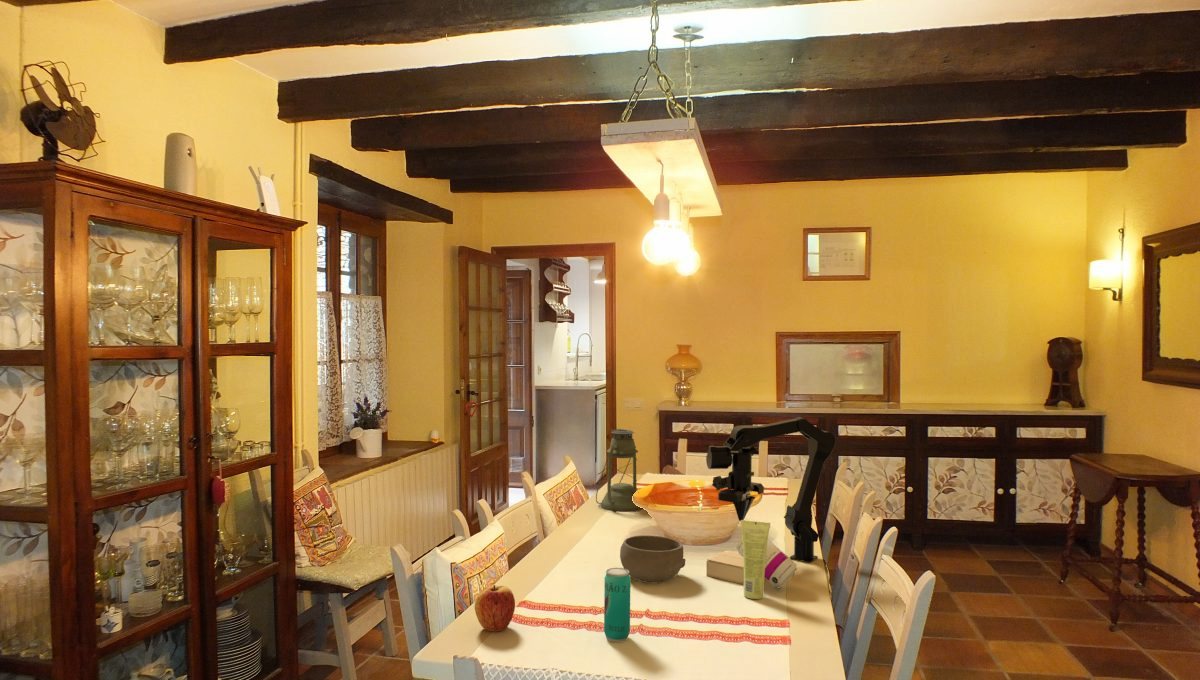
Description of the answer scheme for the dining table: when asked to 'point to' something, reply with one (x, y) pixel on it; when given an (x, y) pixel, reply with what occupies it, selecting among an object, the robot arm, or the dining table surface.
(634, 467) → the lantern
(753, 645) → the dining table surface
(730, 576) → the carton
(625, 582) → the beverage can
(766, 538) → the tube
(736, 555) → the flap
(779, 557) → the supplement can
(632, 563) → the bowl
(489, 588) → the apple
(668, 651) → the dining table surface
